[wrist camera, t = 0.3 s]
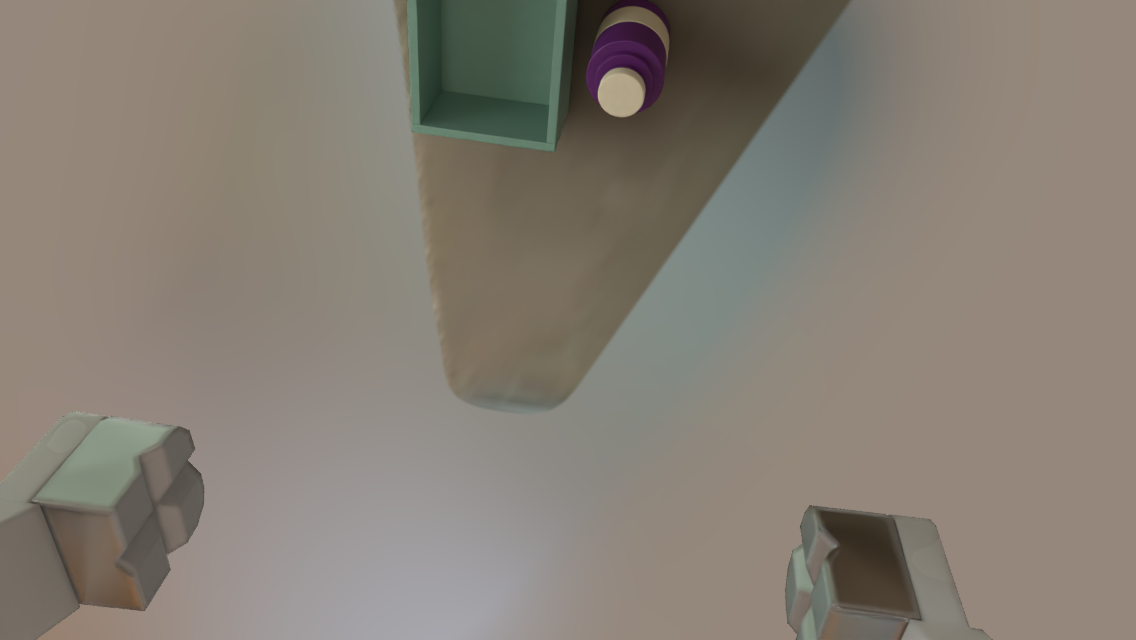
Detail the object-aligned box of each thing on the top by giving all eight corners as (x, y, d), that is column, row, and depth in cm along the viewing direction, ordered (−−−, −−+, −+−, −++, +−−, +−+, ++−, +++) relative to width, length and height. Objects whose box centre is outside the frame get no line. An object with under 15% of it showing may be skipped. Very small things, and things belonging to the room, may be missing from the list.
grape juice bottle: (602, -8, 45) (583, 50, 39) (675, 2, 45) (668, 62, 39) (595, 63, 48) (576, 128, 42) (664, 72, 48) (655, 139, 41)
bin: (433, -92, 44) (404, -64, 40) (584, -72, 43) (570, -42, 40) (435, 92, 50) (411, 132, 46) (568, 111, 50) (555, 152, 46)
